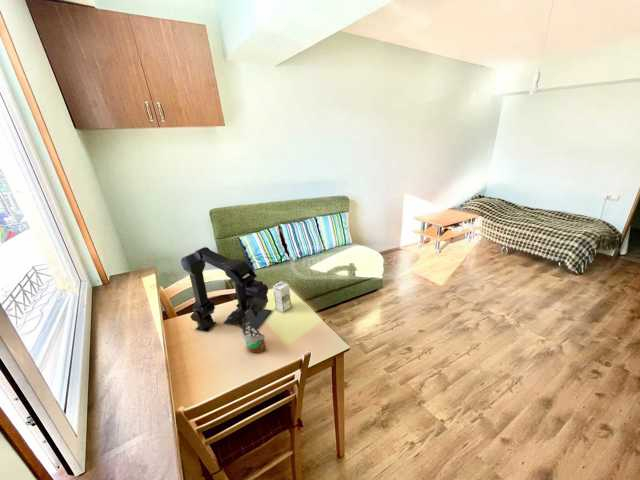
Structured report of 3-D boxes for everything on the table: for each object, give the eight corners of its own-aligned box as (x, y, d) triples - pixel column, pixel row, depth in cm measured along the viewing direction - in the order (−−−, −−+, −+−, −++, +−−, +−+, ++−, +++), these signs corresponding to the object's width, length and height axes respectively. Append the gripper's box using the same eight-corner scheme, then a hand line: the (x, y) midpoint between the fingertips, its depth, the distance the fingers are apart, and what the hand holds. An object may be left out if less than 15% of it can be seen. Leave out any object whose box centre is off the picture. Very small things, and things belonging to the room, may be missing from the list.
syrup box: (284, 303, 150) (280, 280, 143) (291, 307, 147) (288, 284, 140) (275, 308, 146) (272, 285, 139) (283, 312, 143) (280, 289, 136)
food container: (240, 345, 122) (235, 328, 117) (252, 338, 126) (248, 321, 121) (254, 360, 115) (250, 342, 110) (267, 352, 119) (264, 334, 114)
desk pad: (224, 323, 136) (224, 322, 135) (240, 306, 148) (240, 305, 147) (257, 329, 132) (257, 327, 131) (271, 311, 144) (271, 310, 143)
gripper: (249, 308, 100) (256, 341, 107) (273, 282, 116) (278, 312, 123) (222, 304, 102) (230, 337, 109) (249, 279, 118) (255, 308, 125)
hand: (250, 323), depth 117 cm, fingers open, 9 cm apart
